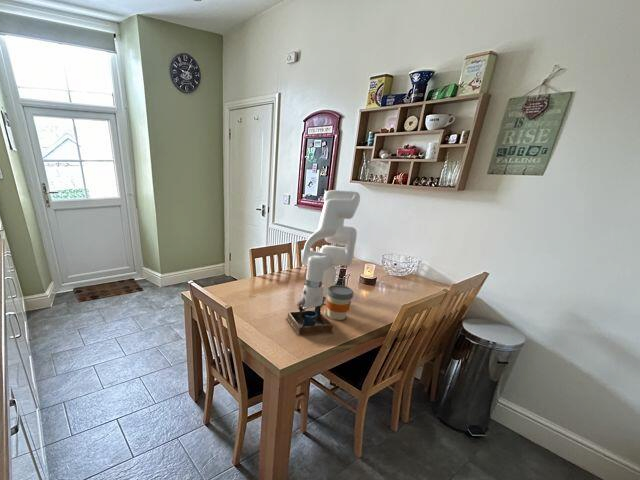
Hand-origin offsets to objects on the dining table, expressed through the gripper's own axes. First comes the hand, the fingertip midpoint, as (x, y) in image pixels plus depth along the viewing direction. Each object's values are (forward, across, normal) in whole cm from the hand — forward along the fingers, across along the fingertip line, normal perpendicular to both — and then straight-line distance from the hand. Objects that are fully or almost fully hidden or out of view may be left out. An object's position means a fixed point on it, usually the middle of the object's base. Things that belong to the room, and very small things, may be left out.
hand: (309, 316), depth 157 cm
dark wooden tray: (+5, 0, 0) cm, 5 cm away
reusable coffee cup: (+5, +20, +1) cm, 20 cm away
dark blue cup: (+5, 0, 0) cm, 5 cm away
